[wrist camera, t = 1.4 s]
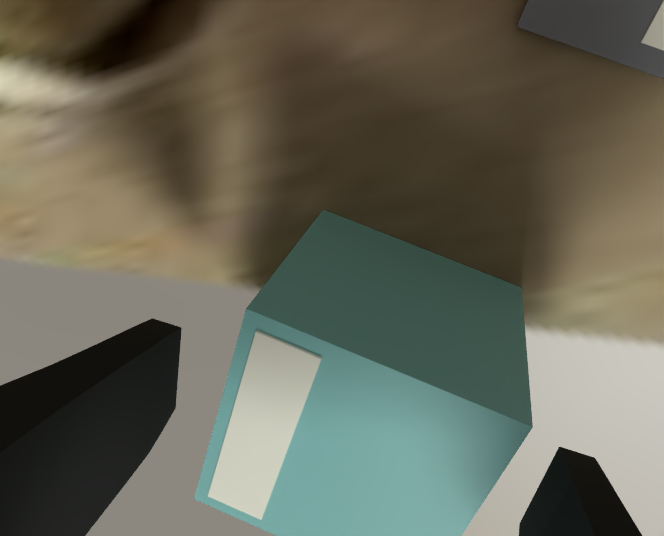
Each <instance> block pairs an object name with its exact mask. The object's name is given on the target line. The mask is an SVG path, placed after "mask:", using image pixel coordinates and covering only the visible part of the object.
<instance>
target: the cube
mask: <svg viewBox="0 0 664 536" xmlns="http://www.w3.org/2000/svg"><path fill="white" fill-rule="evenodd" d="M532 427H533V426H532V413H531V401H530V388H529V375H528V362H527V350H526V337H525V324H524V311H523V298H522V287H519V286H517V285H514V284H511V283H509V282H506V281H504V280H501V279H499V278H496V277H494V276H491V275H489V274H486V273H483V272H481V271H478V270H476V269H473V268H471V267H468V266H466V265H463V264H461V263H458V262H456V261H453V260H450V259H448V258H445V257H443V256H440V255H438V254H435V253H433V252H430V251H428V250H425V249H422V248H420V247H417V246H415V245H412V244H410V243H407V242H405V241H402V240H400V239H397V238H395V237H392V236H389V235H387V234H384V233H382V232H379V231H377V230H374V229H372V228H369V227H367V226H364V225H361V224H359V223H356V222H354V221H351V220H349V219H346V218H344V217H341V216H339V215H336V214H334V213H331V212H328V211H326V210H323V211H322V212H321V213H320V214H319V216H318V217H317V218H316V220H315V221H314V222H313V223H312V225H311V226H310V227H309V229H308V230H307V231H306V232H305V234H304V235H303V236H302V238H301V239H300V240H299V241H298V243H297V244H296V245H295V247H294V248H293V249H292V250H291V252H290V253H289V254H288V256H287V257H286V258H285V259H284V261H283V262H282V263H281V265H280V266H279V267H278V268H277V270H276V271H275V272H274V274H273V275H272V276H271V277H270V279H269V280H268V281H267V283H266V284H265V285H264V286H263V288H262V289H261V290H260V292H259V293H258V294H257V296H256V297H255V298H254V299H253V301H252V302H251V303H250V305H249V306H248V307H247V308H246V311H245V315H244V319H243V323H242V326H241V330H240V333H239V337H238V341H237V344H236V348H235V352H234V355H233V359H232V363H231V366H230V370H229V374H228V377H227V381H226V384H225V388H224V392H223V396H222V399H221V403H220V406H219V410H218V414H217V417H216V421H215V425H214V428H213V432H212V435H211V439H210V443H209V446H208V450H207V454H206V457H205V461H204V465H203V468H202V472H201V475H200V479H199V483H198V486H197V490H196V494H195V497H194V499H195V500H198V501H200V502H202V503H204V504H207V505H209V506H211V507H213V508H215V509H218V510H220V511H222V512H224V513H227V514H229V515H231V516H233V517H236V518H238V519H240V520H242V521H245V522H247V523H249V524H251V525H253V526H256V527H258V528H260V529H263V530H265V531H267V532H269V533H271V534H274V535H276V536H461V535H462V534H463V532H464V531H465V529H466V528H467V526H468V525H469V523H470V522H471V520H472V519H473V517H474V515H475V514H476V512H477V511H478V509H479V508H480V506H481V505H482V503H483V502H484V500H485V499H486V497H487V496H488V494H489V493H490V491H491V490H492V488H493V487H494V485H495V484H496V482H497V480H498V479H499V477H500V476H501V474H502V473H503V471H504V470H505V468H506V467H507V465H508V464H509V462H510V461H511V459H512V457H513V456H514V455H515V453H516V452H517V450H518V449H519V447H520V446H521V444H522V442H523V441H524V439H525V438H526V436H527V435H528V433H529V432H530V430H531V429H532Z"/></svg>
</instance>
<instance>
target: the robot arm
mask: <svg viewBox="0 0 664 536" xmlns="http://www.w3.org/2000/svg"><path fill="white" fill-rule="evenodd" d="M180 340H181V328H180V327H178V326H174V325H171V324H168V323H165V322H162V321H159V320H155V319H151V320H148V321H146V322H143V323H141V324H139V325H137V326H135V327H132V328H130V329H128V330H126V331H124V332H122V333H120V334H117V335H115V336H113V337H111V338H109V339H107V340H105V341H103V342H101V343H99V344H97V345H94V346H92V347H90V348H88V349H85V350H83V351H81V352H79V353H77V354H74V355H72V356H70V357H68V358H66V359H63V360H61V361H59V362H57V363H55V364H52V365H50V366H48V367H45V368H43V369H40V370H38V371H35V372H33V373H31V374H28V375H25V376H23V377H21V378H18V379H16V380H13V381H11V382H8V383H6V384H3V385H1V386H0V536H85V535H86V534H87V533H88V531H89V530H90V528H91V527H92V526H93V525H94V524H95V522H96V521H97V520H98V518H99V517H100V516H101V515H102V513H103V512H104V510H105V509H106V508H107V507H108V506H109V504H110V503H111V502H112V500H113V499H114V498H115V497H116V495H117V494H118V493H119V491H120V490H121V489H122V488H123V486H124V485H125V484H126V482H127V481H128V480H129V478H130V477H131V476H132V475H133V473H134V472H135V471H136V469H137V468H138V466H139V465H140V464H141V463H142V461H143V460H144V459H145V457H146V456H147V455H148V453H149V452H150V450H151V449H152V447H153V445H154V444H155V442H156V440H157V439H158V437H159V435H160V434H161V432H162V431H163V429H164V427H165V425H166V423H167V422H168V420H169V418H170V417H171V414H172V413H173V411H174V409H175V407H176V393H177V392H176V391H177V380H178V367H179V353H180ZM519 536H642V535H641V533H640V532H639V530H638V528H637V526H636V525H635V523H634V522H633V520H632V518H631V517H630V515H629V513H628V512H627V510H626V508H625V507H624V505H623V504H622V502H621V500H620V498H619V497H618V495H617V494H616V492H615V490H614V488H613V487H612V485H611V484H610V482H609V480H608V478H607V477H606V475H605V474H604V472H603V471H602V469H601V467H600V465H599V464H598V462H597V461H596V459H595V458H594V457H590V456H587V455H584V454H581V453H578V452H575V451H571V450H568V449H565V448H562V447H559V449H558V450H557V452H556V454H555V456H554V458H553V460H552V462H551V464H550V466H549V468H548V470H547V472H546V474H545V476H544V478H543V479H542V482H541V483H540V485H539V487H538V489H537V491H536V493H535V495H534V497H533V499H532V501H531V503H530V505H529V507H528V509H527V511H526V512H525V515H524V516H523V518H522V520H521V522H520V528H519Z"/></svg>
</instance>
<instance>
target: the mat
mask: <svg viewBox="0 0 664 536" xmlns="http://www.w3.org/2000/svg"><path fill="white" fill-rule="evenodd" d="M517 27H519V28H522V29H525V30H527V31H530V32H533V33H536V34H539V35H542V36H544V37H547V38H550V39H553V40H556V41H558V42H561V43H564V44H567V45H570V46H573V47H575V48H578V49H581V50H584V51H587V52H589V53H592V54H595V55H598V56H601V57H604V58H606V59H609V60H612V61H615V62H618V63H620V64H623V65H626V66H629V67H632V68H635V69H637V70H640V71H643V72H646V73H649V74H651V75H654V76H657V77H660V78H663V79H664V0H528V1H527V3H526V6H525V8H524V10H523V13H522V15H521V17H520V19H519V22H518V24H517Z"/></svg>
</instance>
